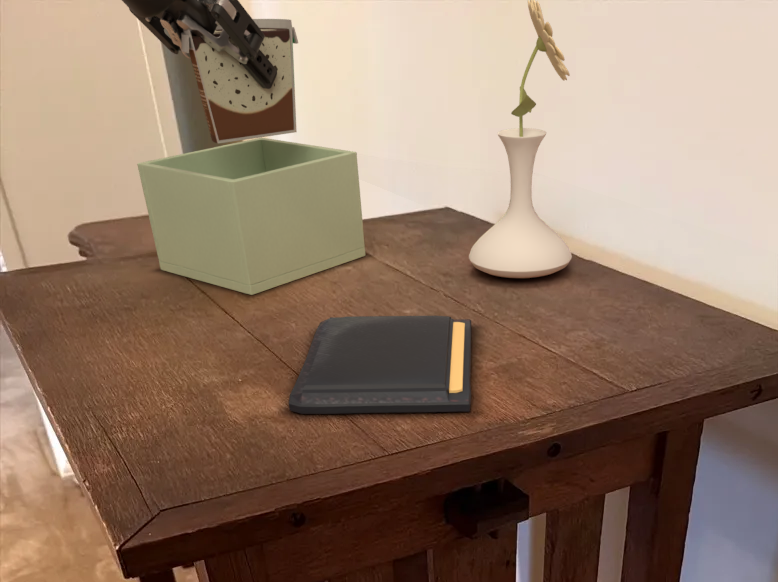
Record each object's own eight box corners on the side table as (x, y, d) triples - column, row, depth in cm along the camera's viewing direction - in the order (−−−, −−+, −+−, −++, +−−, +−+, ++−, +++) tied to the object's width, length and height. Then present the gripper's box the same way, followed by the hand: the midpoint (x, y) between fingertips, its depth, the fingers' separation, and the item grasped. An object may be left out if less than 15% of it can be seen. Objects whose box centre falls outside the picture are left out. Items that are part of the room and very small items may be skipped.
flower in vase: (557, 291, 96) (568, 3, 81) (455, 282, 99) (446, 2, 84) (584, 257, 106) (599, -6, 90) (490, 250, 109) (489, -7, 93)
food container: (279, 123, 103) (265, 16, 97) (308, 130, 99) (295, 19, 93) (177, 137, 97) (155, 24, 90) (204, 145, 93) (183, 27, 87)
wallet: (319, 307, 88) (477, 307, 87) (321, 327, 89) (478, 327, 88) (276, 392, 72) (469, 392, 71) (280, 415, 73) (470, 415, 73)
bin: (160, 269, 104) (136, 163, 97) (275, 235, 115) (261, 137, 108) (251, 295, 97) (232, 181, 90) (365, 255, 108) (356, 151, 101)
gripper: (193, -101, 78) (311, 50, 92) (94, -96, 85) (218, 43, 99) (156, -21, 78) (280, 117, 92) (60, -23, 85) (189, 106, 99)
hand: (247, 78), depth 96 cm, fingers closed on food container, 6 cm apart
